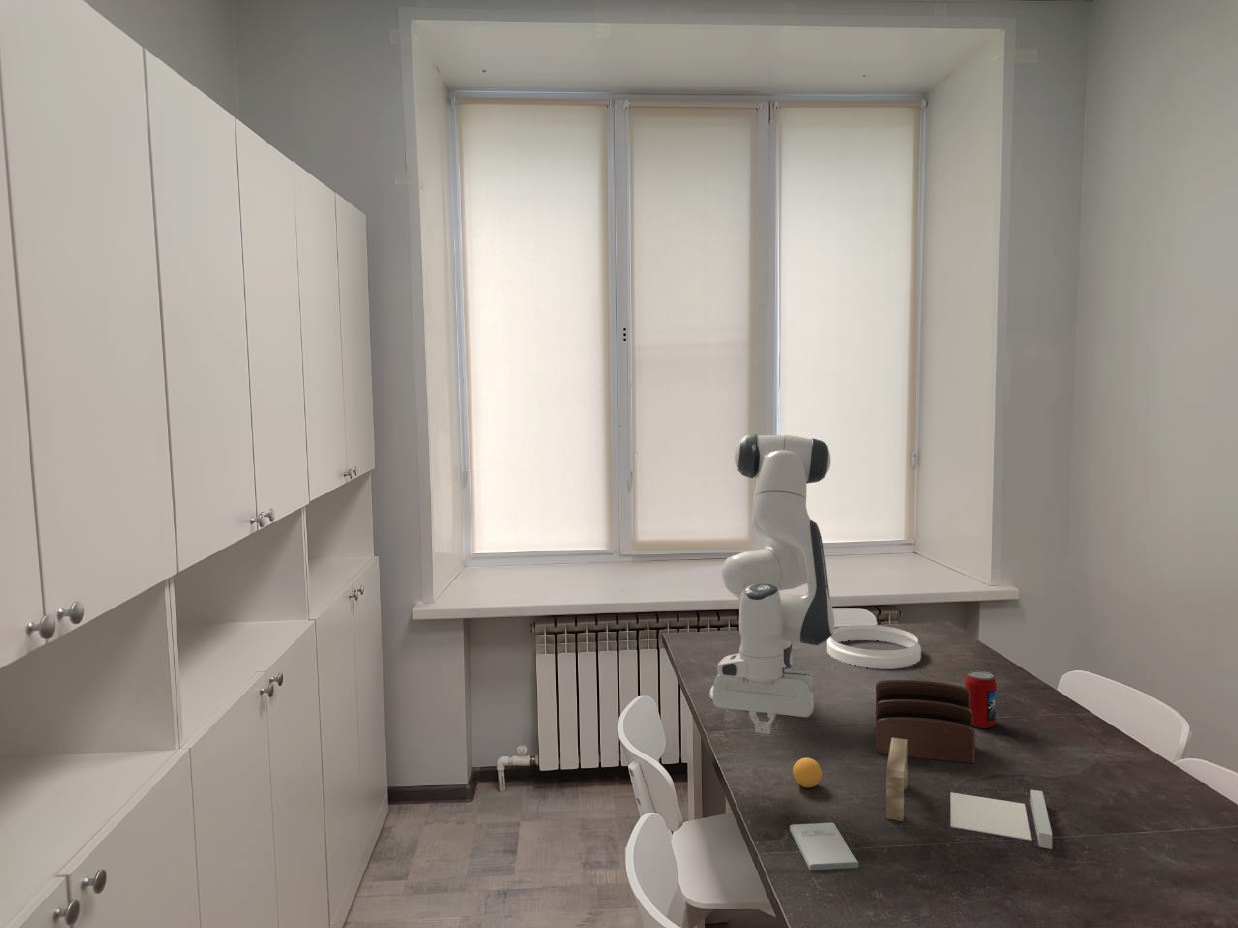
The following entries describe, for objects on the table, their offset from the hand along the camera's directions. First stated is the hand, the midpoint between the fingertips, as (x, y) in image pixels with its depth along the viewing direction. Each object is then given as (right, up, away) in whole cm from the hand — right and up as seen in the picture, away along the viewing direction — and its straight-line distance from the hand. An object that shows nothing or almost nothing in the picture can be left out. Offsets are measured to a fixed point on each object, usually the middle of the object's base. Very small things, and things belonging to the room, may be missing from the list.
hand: (763, 731), depth 161 cm
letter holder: (+38, -9, +13) cm, 41 cm away
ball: (+8, -7, -2) cm, 11 cm away
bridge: (+24, -10, -9) cm, 28 cm away
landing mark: (+39, -10, -15) cm, 43 cm away
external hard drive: (+6, -13, -24) cm, 28 cm away
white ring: (+47, -3, +78) cm, 91 cm away
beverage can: (+56, -7, +25) cm, 62 cm away
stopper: (+47, -10, -18) cm, 51 cm away
